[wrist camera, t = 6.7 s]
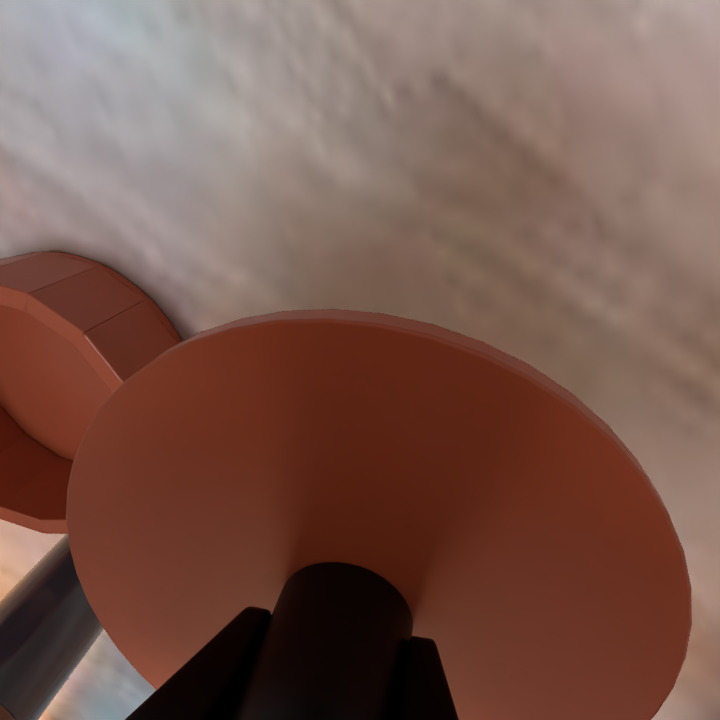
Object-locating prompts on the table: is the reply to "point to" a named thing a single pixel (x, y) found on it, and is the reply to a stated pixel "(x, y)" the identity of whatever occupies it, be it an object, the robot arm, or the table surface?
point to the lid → (378, 524)
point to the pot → (62, 371)
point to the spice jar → (43, 634)
